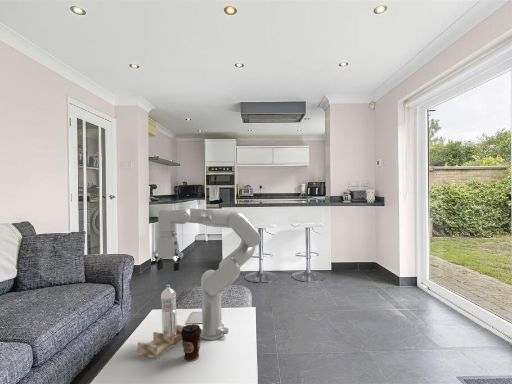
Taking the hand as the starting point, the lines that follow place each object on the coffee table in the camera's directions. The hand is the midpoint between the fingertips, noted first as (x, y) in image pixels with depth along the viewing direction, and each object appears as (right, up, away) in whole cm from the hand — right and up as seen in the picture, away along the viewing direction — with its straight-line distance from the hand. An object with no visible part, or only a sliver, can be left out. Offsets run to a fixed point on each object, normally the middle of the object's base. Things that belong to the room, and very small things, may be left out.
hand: (168, 270), depth 139 cm
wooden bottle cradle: (-1, -34, -5) cm, 34 cm away
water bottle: (+1, -33, 0) cm, 33 cm away
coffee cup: (+15, -34, -16) cm, 40 cm away
